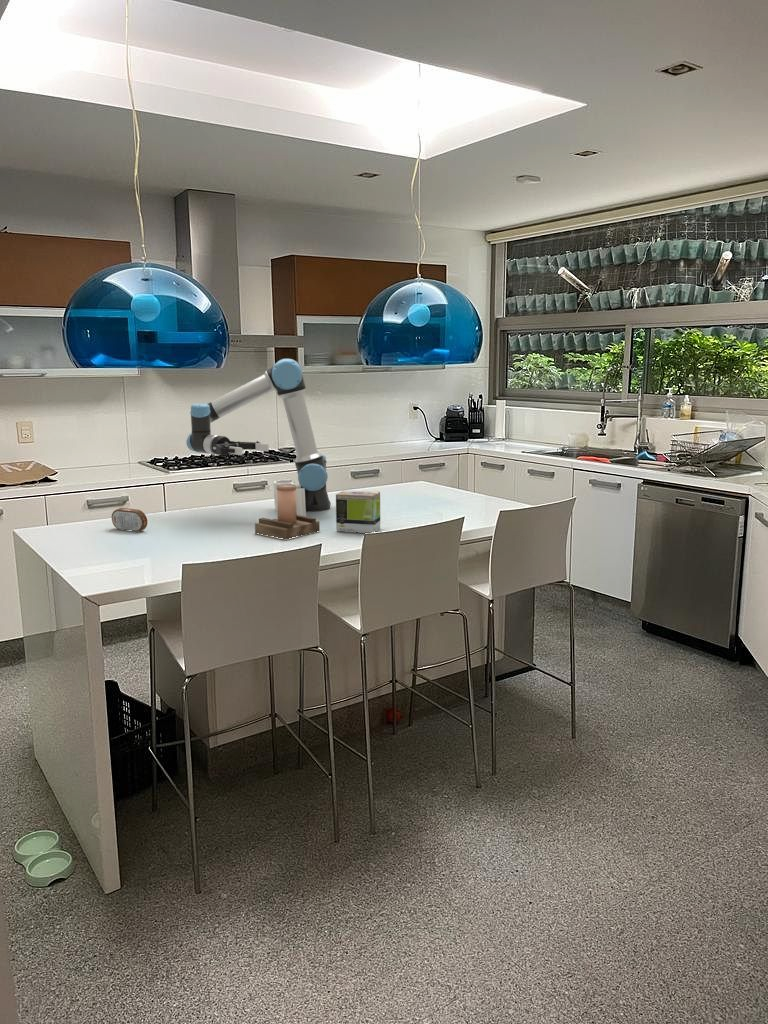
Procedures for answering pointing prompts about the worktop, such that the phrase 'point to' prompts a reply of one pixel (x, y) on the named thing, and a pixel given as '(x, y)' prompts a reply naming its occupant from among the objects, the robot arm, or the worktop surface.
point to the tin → (129, 519)
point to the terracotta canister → (287, 503)
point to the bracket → (299, 496)
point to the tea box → (358, 511)
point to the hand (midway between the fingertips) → (255, 449)
